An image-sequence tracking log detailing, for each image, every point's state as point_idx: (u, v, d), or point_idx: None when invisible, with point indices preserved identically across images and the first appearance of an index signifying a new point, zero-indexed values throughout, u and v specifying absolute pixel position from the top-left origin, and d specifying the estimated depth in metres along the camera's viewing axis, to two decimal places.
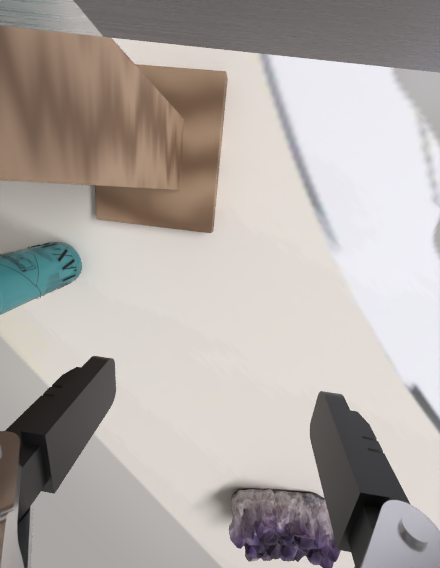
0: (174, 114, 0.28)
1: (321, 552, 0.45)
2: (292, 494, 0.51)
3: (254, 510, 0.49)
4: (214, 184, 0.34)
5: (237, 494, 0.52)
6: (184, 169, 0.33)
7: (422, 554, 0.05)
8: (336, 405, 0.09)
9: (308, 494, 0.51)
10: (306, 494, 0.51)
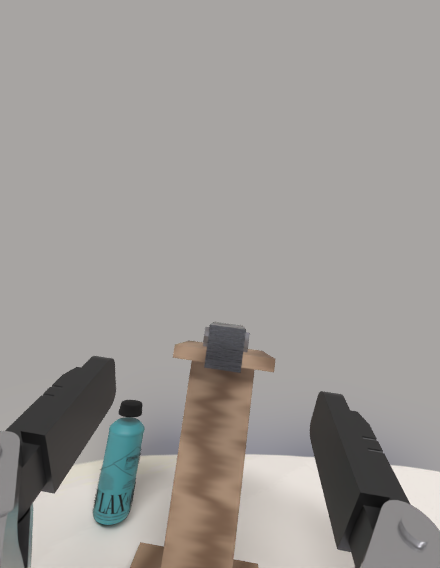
0: None
1: None
2: None
3: None
4: None
5: None
6: None
7: (422, 554, 0.05)
8: (336, 405, 0.09)
9: None
10: None
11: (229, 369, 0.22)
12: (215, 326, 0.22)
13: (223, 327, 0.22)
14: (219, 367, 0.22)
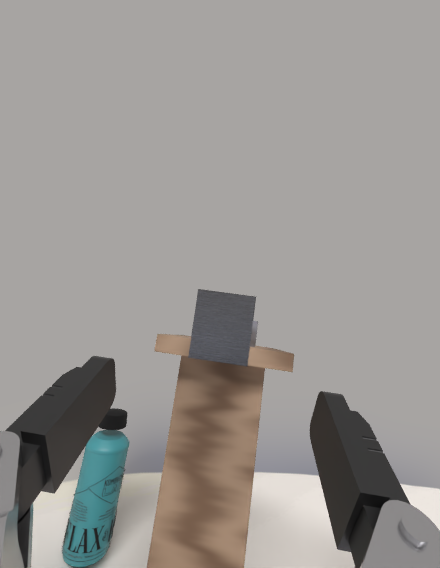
0: None
1: None
2: None
3: None
4: None
5: None
6: None
7: (422, 554, 0.05)
8: (336, 405, 0.09)
9: None
10: None
11: (229, 360, 0.13)
12: (207, 292, 0.14)
13: (219, 293, 0.14)
14: (213, 357, 0.13)
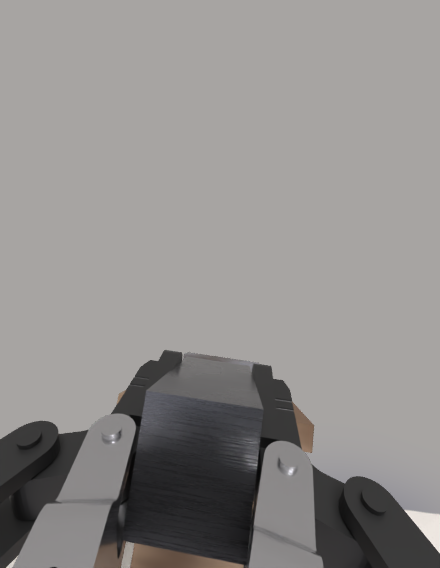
0: None
1: None
2: None
3: None
4: None
5: None
6: None
7: (288, 476, 0.06)
8: (261, 373, 0.10)
9: None
10: None
11: (207, 550, 0.06)
12: (164, 397, 0.07)
13: (189, 401, 0.07)
14: (173, 542, 0.06)
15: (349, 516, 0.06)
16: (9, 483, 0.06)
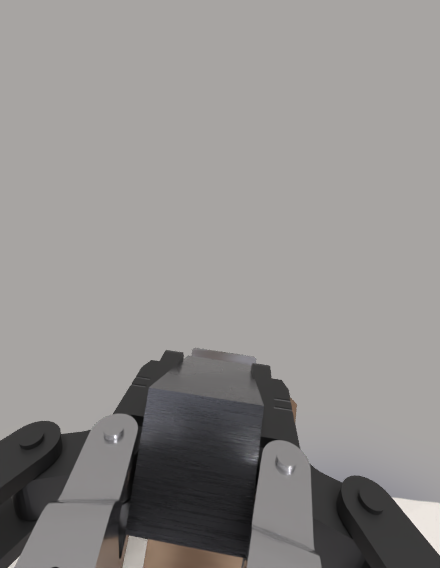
0: None
1: None
2: None
3: None
4: None
5: None
6: None
7: (286, 475, 0.06)
8: (260, 373, 0.10)
9: None
10: None
11: (209, 543, 0.06)
12: (166, 393, 0.07)
13: (191, 397, 0.07)
14: (175, 536, 0.06)
15: (346, 515, 0.06)
16: (11, 483, 0.06)
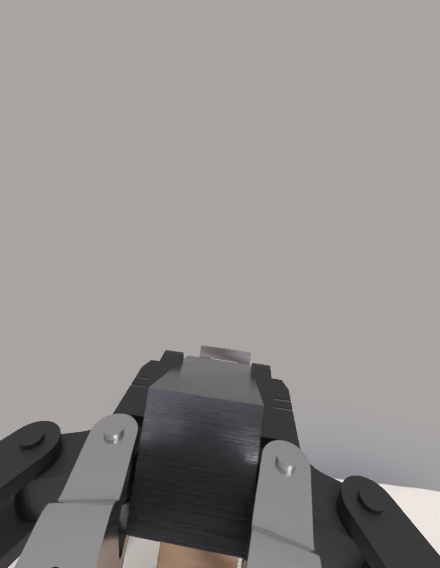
0: None
1: None
2: None
3: None
4: None
5: None
6: None
7: (286, 475, 0.06)
8: (260, 373, 0.10)
9: None
10: None
11: (209, 544, 0.06)
12: (166, 393, 0.07)
13: (191, 397, 0.07)
14: (175, 536, 0.06)
15: (346, 515, 0.06)
16: (10, 483, 0.06)
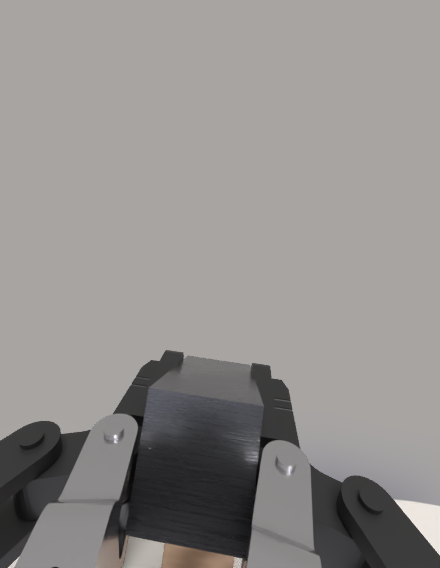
0: None
1: None
2: None
3: None
4: None
5: None
6: None
7: (286, 475, 0.06)
8: (260, 373, 0.10)
9: None
10: None
11: (209, 544, 0.06)
12: (166, 394, 0.07)
13: (191, 398, 0.07)
14: (175, 536, 0.06)
15: (346, 515, 0.06)
16: (11, 483, 0.06)
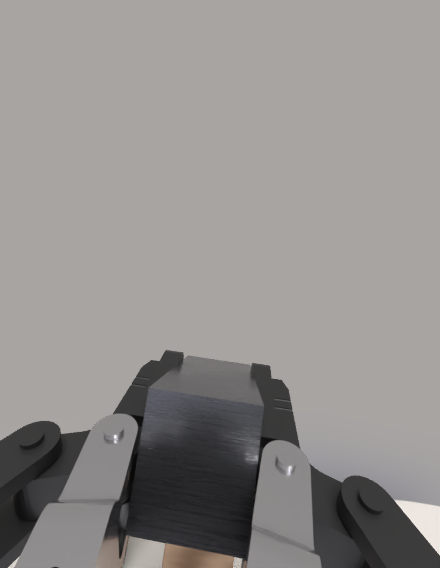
0: None
1: None
2: None
3: None
4: None
5: None
6: None
7: (286, 475, 0.06)
8: (260, 373, 0.10)
9: None
10: None
11: (209, 544, 0.06)
12: (166, 393, 0.07)
13: (191, 397, 0.07)
14: (175, 536, 0.06)
15: (346, 515, 0.06)
16: (10, 483, 0.06)
